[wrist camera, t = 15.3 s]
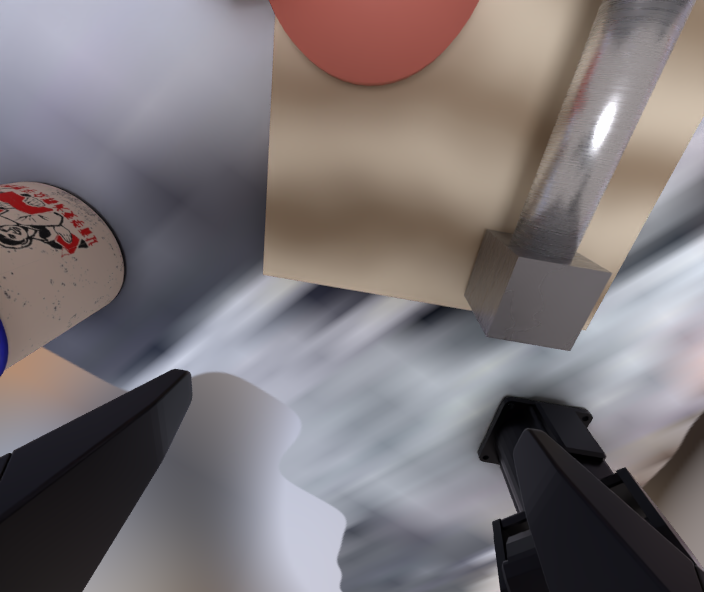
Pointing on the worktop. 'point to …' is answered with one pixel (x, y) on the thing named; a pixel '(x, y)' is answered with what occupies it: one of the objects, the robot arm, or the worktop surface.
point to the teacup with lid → (50, 266)
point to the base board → (453, 153)
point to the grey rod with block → (574, 181)
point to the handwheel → (372, 34)
